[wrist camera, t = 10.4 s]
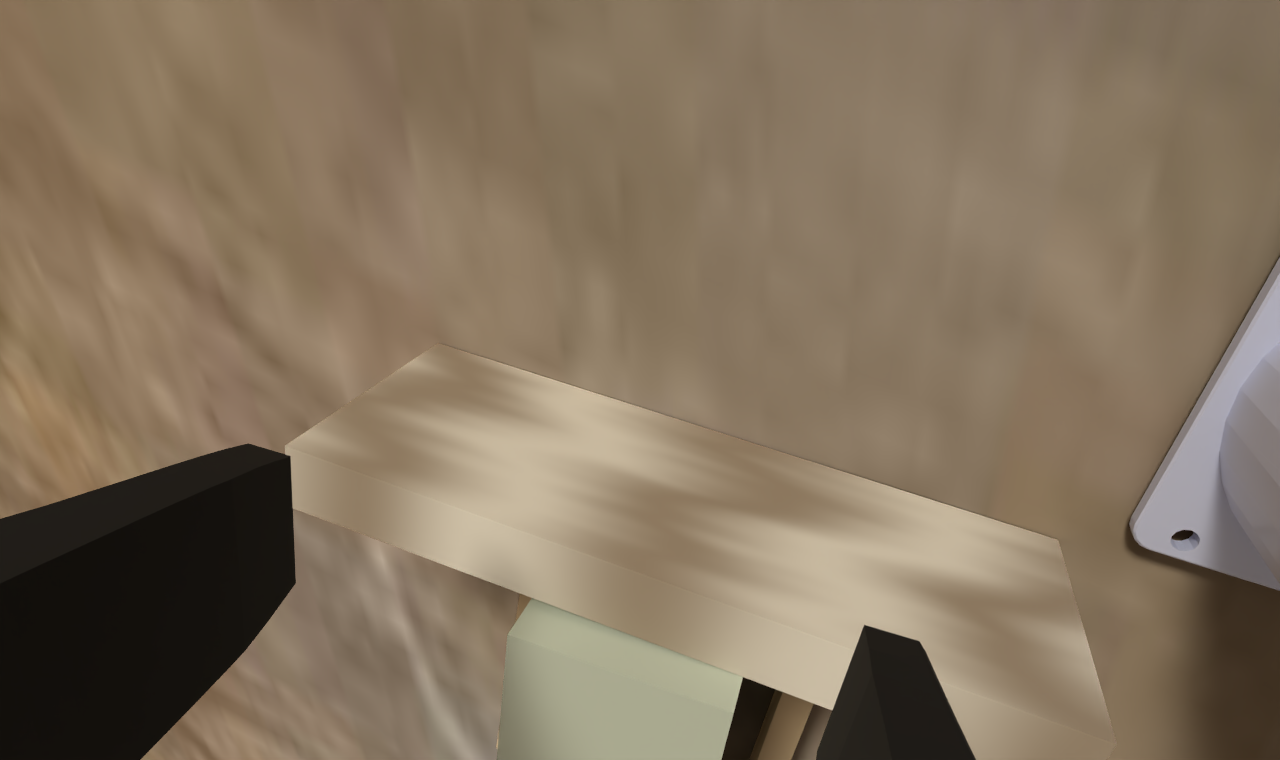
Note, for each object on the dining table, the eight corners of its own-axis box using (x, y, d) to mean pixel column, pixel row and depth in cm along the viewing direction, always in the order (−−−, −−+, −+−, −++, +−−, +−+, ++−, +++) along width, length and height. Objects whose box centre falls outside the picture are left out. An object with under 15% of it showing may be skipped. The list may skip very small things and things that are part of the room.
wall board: (1058, 540, 18) (1117, 744, 13) (892, 853, 24) (887, 1088, 18) (437, 342, 21) (285, 445, 16) (413, 660, 27) (291, 815, 21)
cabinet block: (787, 506, 20) (733, 712, 14) (725, 739, 24) (662, 981, 18) (623, 459, 21) (507, 634, 15) (588, 690, 25) (484, 905, 19)
